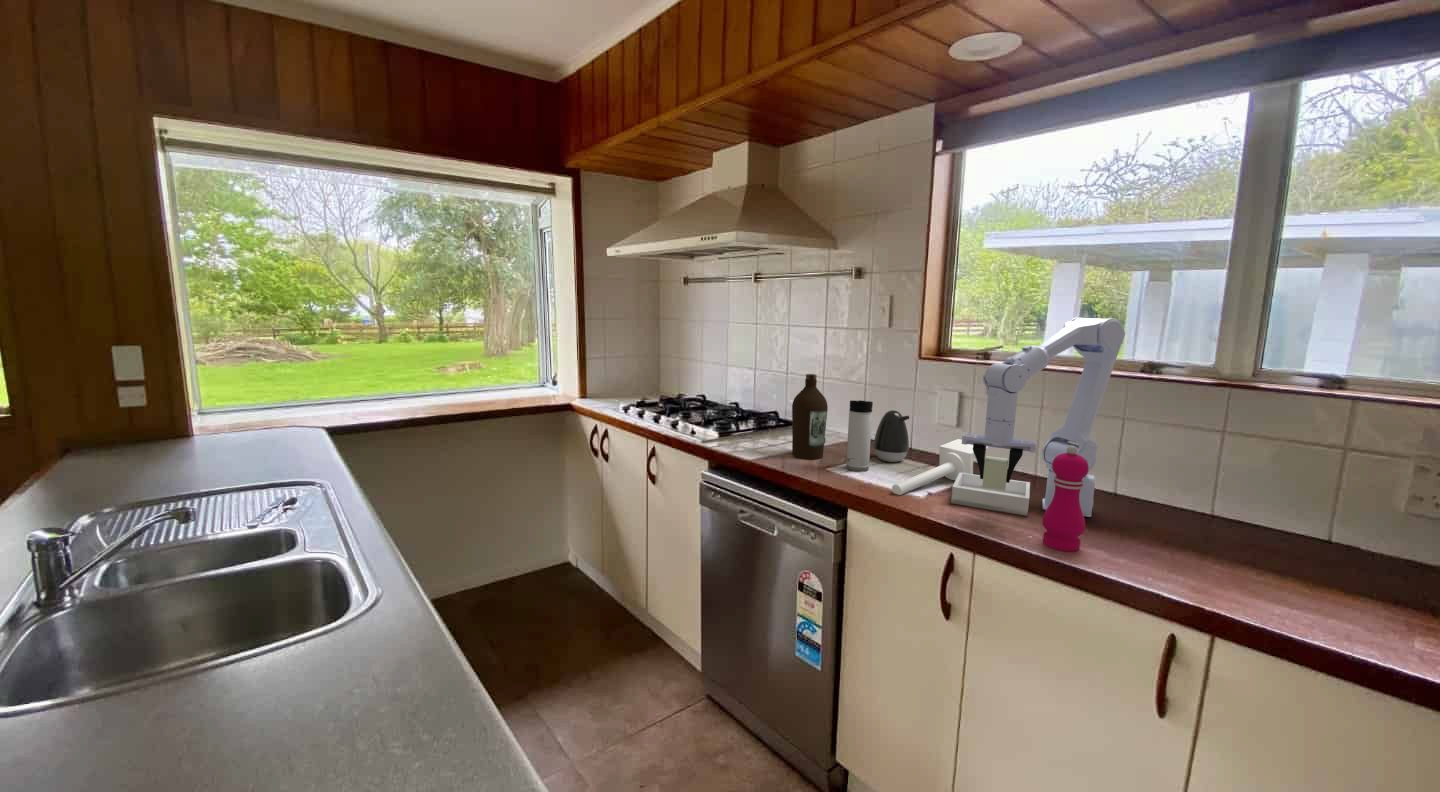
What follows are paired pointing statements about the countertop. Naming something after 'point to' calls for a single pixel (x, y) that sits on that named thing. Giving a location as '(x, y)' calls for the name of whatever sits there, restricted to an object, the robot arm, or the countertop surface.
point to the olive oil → (809, 421)
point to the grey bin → (991, 495)
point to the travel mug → (859, 435)
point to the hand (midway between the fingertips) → (994, 479)
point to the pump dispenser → (892, 437)
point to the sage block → (995, 473)
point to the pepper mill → (1066, 503)
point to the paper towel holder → (942, 466)
